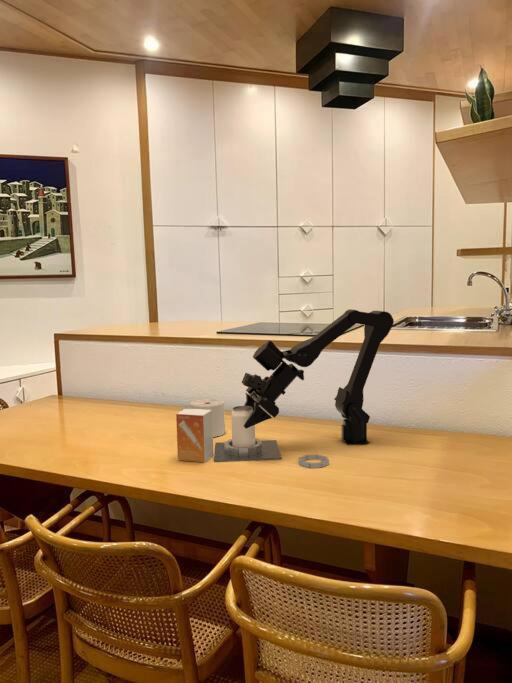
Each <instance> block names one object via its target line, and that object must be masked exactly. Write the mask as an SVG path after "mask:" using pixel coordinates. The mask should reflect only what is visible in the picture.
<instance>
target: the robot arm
mask: <svg viewBox="0 0 512 683" xmlns="http://www.w3.org/2000/svg"><path fill="white" fill-rule="evenodd" d="M394 323H395V322H394V318H393V316H392V314H391V313H390V312H388V311H384V310H383V311H381V310H371V311H370V312H365V311H359V310H356V309H347V310H346V311H345V312H343V314H341V315H340V316H339V317H338V318H336V319H335V320H334V321H332V322H331V323H330V324H328V325H327V326H325V328H323V329H322V330H320V332H318V333H317V334H316V335H314V336H313V337H311V338H308V339H305V340H302V341H301V342H299V343H297V344H295V345H294V346H293V347H291V349H288V350H283V351H281V350H280V348H278V347H277V346H276V345H275V343H274V342H273V341H272V340H270V339H269V340H267V341H266V342H265V343H264V344H262V345H261V346H260V347H258V348H257V350H256V351H254V353H253V355H252V358H253V359H254V360H255V361H256V362H257V363H258V364H259V365H260V366H262V367H263V368H264V369H265V371H267V372H269V371H273V372H272V373H271V375H270V376H265V377H264V378H262V376H260V375H258V374H256V373H255V374H251V373H249V372H245V373H244V376H243V378H242V380H241V384H242V385H243V386H245V387H247V388H246V389H245V391H246V392H245V400H246V401H245V402H244V404H243V406H251V407H253V412H252V413H251V415H250V416H249V418H248V419H247V421H246V423H245V424H244V427H245V428H246V429H247V428H249V427H251V426H253V425H255V426H256V425H258V424H260V423H262V422H265V421H267V420H270V419H271V420H272V419H273V418H274V419H275V418H276V417H277V416H278V415H279V413H280V409H279V406H277V405H276V404H277V403H276V401H277V400H278V399H279V397H280V396H281V395H285V394H286V389H288V387H289V386H290V385H291V384H292V383H293V382H294V381H295V380H296V378H298V379H300V380H301V381H304V380H305V374H304V372H305V370H304V369H299V368H298V367H301V368H308V367H310V366H312V364H313V363H314V362H315V361H316V360H317V359H318V358H319V356H320V355H321V354H322V352H323V350H324V349H325V348H327V346H329V345H330V344H331V343H333V342H335V340H337V339H338V338H339V337H341V336H342V335H343V334H345V332H347V331H348V330H349V329H351V328H352V327H353V326H355V325H364V327H363V330H364V332H363V334H364V335H363V336H364V339H363V342H362V344H361V347H360V350H359V352H358V355H357V358H356V361H355V363H354V366H353V370H352V371H351V373H350V374H351V375H350V377H349V380H348V382H347V384H346V385H345V386H344V387H343V388H342V387H340V386H339V387H338V390H337V394H336V396H335V397H334V398H333V400H334V401H335V403H334V406H335V408H336V411H337V412H339V413H340V414H341V417H342V418H343V419H342V422H343V423H342V424H341V439H342V440H343V441H344V443H345V444H346V445H354V444H355V445H358V444H361V445H362V444H369V440H368V436H367V435H368V431H367V430H368V428H367V427H368V424H369V422H370V418H371V415H369V414H368V413H367V412H366V411H365V410H364V409H363V406H364V390H365V389H364V388H365V387H366V386H365V385H366V384H367V381H368V380H367V379H368V377H369V375H370V371H371V369H372V367H373V363H374V361H375V359H376V355H377V353H378V350H379V347H380V344H381V343H382V342H383V341H384V339H385V338H386V337H387V336H388V335H389V334H390V331H391V330H392V328H393V326H394ZM285 360H286V361H288V362H290V363H287V362H286V361H285ZM294 364H295V365H297V366H298V367H297V366H295V365H294Z"/></svg>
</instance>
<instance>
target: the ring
mask: <svg viewBox="0 0 512 683" xmlns="http://www.w3.org/2000/svg"><path fill="white" fill-rule="evenodd" d="M297 459H298V460H297V461H298V464H299V466H300V467H303V466H304V468H308V469H317V468H318V469H321V467H322V468H324V467H327V466H328V464H329V465H330V459H329V458H328V456H327V455H323V454H318V453H317V454H311V453H310V454H304V455H302V456H300V457H298V458H297ZM308 460H320V462H308Z"/></svg>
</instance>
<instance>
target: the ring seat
mask: <svg viewBox="0 0 512 683" xmlns="http://www.w3.org/2000/svg"><path fill="white" fill-rule="evenodd" d="M268 460H282V455H281V452H280V448H279V445H278V442H277V440H276V439H271V440H266V439H265V440H262V439H261V440H260V439H258V438H256V437H255V445H254V446H251V447H241V448H239V447H232V438H231V439H228V440H227V441H223V442H222V441H221V442H215V445H214V453H213V463H223V462H225V463H226V462H245V461H246V462H250V461H268Z"/></svg>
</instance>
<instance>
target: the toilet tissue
mask: <svg viewBox="0 0 512 683" xmlns="http://www.w3.org/2000/svg"><path fill="white" fill-rule="evenodd" d="M180 407H181V411H182V410H184V409H203V410H212V425H213V438H216V437H217V436H218V437H221V436H223V435H224V434H225V433H226V421H225V420H226V419H225V418H226V416H225V401H224V400H222V399H219V398H218V399H216V398H205V399H198V400H194V401H191V402H190V405H185V404H181V405H180Z"/></svg>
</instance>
